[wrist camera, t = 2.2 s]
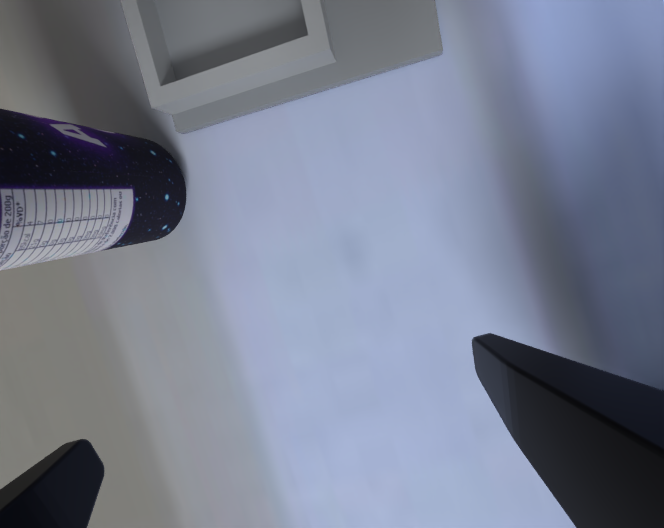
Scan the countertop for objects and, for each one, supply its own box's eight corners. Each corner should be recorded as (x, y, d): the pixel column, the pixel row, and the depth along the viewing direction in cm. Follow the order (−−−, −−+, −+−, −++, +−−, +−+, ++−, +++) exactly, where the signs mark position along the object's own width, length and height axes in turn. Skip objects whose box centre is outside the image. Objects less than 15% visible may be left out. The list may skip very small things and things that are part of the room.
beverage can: (195, 143, 19) (-102, 71, 8) (196, 243, 21) (-61, 308, 9) (106, 137, 20) (-275, 67, 9) (112, 234, 22) (-216, 281, 10)
